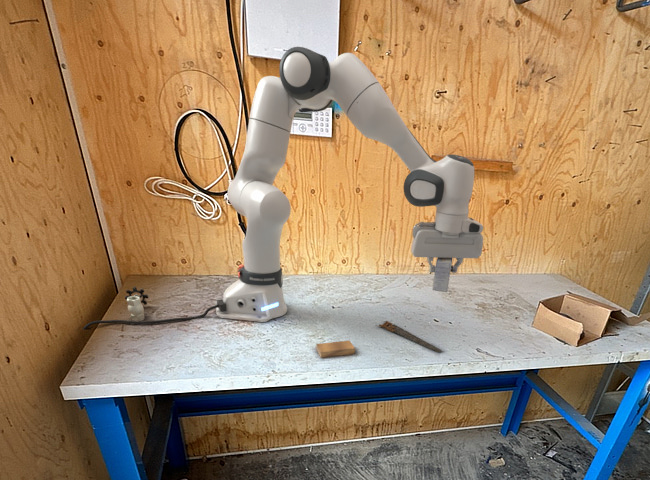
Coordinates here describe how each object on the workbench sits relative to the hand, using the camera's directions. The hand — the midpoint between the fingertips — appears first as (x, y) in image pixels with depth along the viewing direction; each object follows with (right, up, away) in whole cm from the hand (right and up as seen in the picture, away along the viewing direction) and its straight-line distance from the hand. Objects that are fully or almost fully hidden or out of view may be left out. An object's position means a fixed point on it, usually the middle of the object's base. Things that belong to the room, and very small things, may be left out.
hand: (442, 272), depth 127 cm
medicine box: (0, -4, +3) cm, 5 cm away
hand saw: (-10, -18, +8) cm, 22 cm away
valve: (-93, -11, +7) cm, 94 cm away
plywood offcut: (-31, -24, -4) cm, 40 cm away
